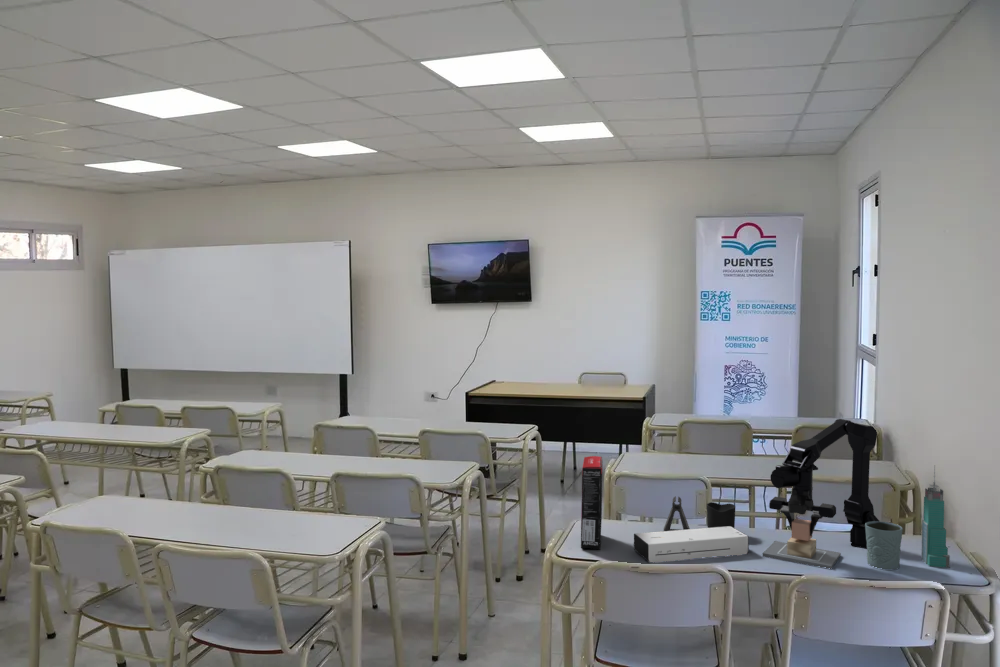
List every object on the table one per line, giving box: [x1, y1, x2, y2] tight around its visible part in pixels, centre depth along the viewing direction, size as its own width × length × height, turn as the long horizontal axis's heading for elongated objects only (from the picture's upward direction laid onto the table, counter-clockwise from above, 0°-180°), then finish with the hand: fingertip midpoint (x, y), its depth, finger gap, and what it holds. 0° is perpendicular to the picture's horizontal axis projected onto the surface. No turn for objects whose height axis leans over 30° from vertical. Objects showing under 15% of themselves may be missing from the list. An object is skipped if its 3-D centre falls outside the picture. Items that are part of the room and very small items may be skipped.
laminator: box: [633, 526, 750, 564], centre depth 235 cm, size 34×12×6 cm, turn 102°
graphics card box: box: [580, 455, 603, 550], centre depth 245 cm, size 17×7×27 cm, turn 172°
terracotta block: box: [791, 517, 813, 541], centre depth 231 cm, size 5×5×5 cm
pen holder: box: [706, 501, 736, 528], centre depth 253 cm, size 9×9×10 cm
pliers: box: [663, 496, 691, 531], centre depth 255 cm, size 9×6×12 cm, turn 75°
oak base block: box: [786, 536, 817, 558], centre depth 231 cm, size 7×7×4 cm
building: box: [921, 465, 951, 568], centre depth 223 cm, size 6×6×30 cm
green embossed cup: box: [865, 520, 903, 570], centre depth 223 cm, size 10×10×12 cm
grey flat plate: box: [762, 540, 842, 570], centre depth 231 cm, size 20×14×1 cm
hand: (801, 534), depth 231 cm, fingers closed on terracotta block, 5 cm apart
